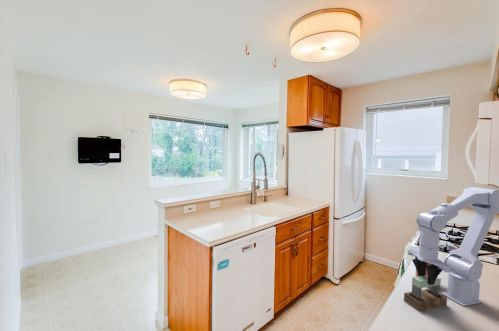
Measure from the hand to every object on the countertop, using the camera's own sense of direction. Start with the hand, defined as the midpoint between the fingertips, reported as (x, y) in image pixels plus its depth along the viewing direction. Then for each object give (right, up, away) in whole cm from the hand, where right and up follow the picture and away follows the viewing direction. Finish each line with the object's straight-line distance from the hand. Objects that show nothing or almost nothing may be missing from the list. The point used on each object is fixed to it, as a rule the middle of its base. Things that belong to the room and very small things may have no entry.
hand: (426, 281), depth 87 cm
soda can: (+11, -8, +15) cm, 20 cm away
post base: (0, -8, +1) cm, 8 cm away
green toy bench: (0, -5, 0) cm, 5 cm away
